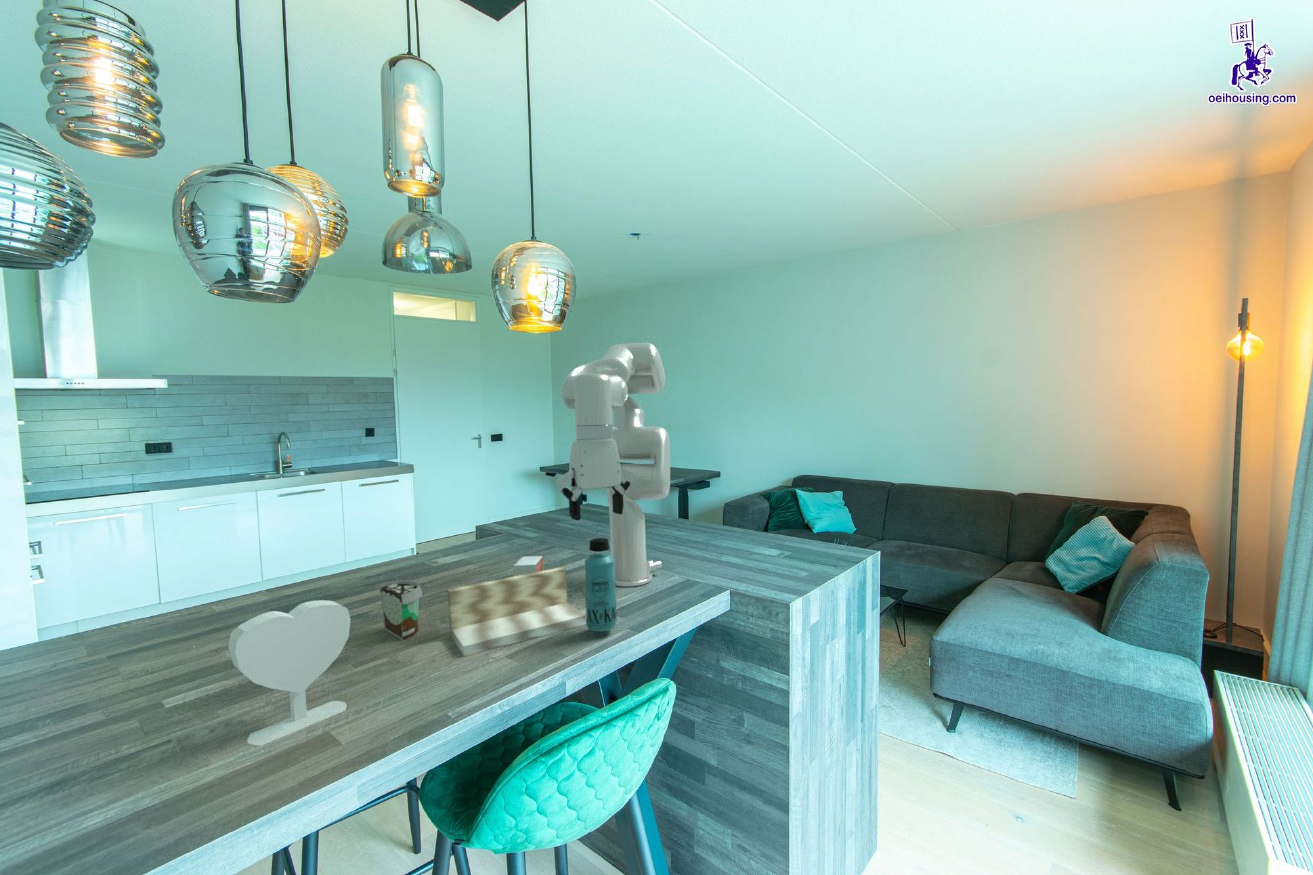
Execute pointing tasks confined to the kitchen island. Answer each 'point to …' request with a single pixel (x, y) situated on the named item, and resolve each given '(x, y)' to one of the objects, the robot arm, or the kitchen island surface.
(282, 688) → the heart sculpture
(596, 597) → the beverage bottle
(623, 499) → the robot arm
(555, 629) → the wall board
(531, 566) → the small box
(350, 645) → the kitchen island surface
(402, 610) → the food container
